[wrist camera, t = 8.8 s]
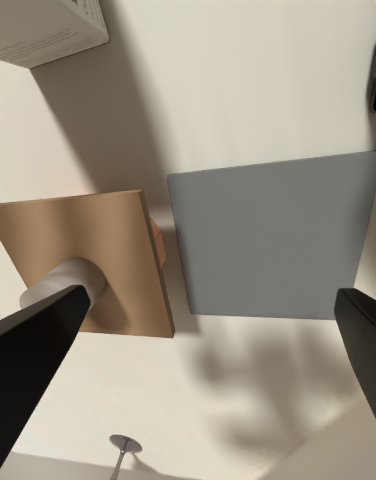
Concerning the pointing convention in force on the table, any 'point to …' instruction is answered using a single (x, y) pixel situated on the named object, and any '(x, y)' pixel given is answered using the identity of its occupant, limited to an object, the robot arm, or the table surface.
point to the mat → (273, 234)
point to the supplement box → (48, 29)
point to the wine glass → (123, 450)
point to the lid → (92, 258)
